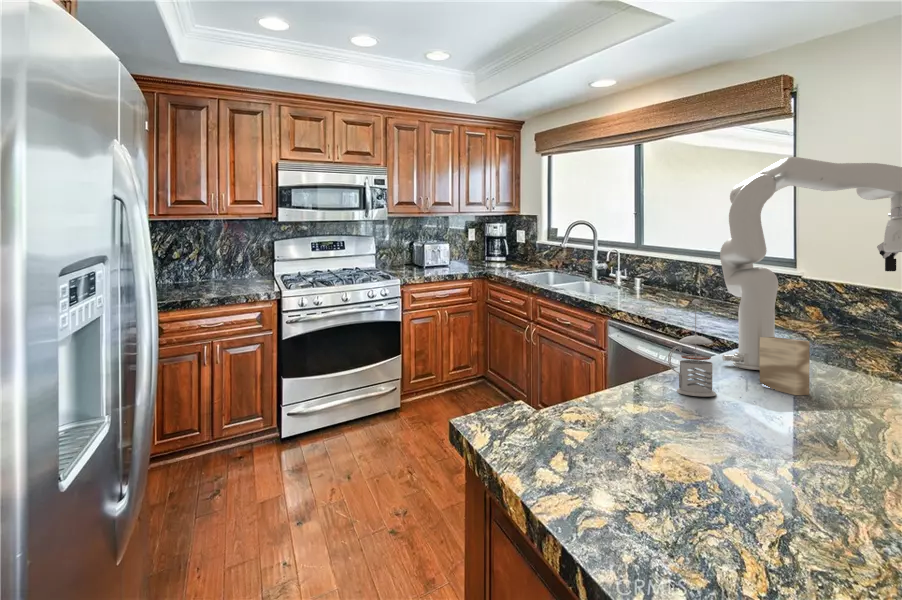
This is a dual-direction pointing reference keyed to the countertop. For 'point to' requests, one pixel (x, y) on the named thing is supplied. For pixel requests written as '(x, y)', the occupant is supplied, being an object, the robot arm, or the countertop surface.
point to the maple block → (785, 364)
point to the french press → (688, 385)
